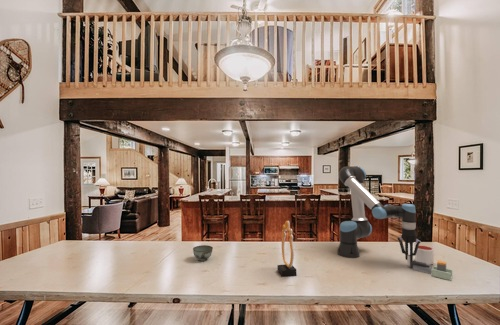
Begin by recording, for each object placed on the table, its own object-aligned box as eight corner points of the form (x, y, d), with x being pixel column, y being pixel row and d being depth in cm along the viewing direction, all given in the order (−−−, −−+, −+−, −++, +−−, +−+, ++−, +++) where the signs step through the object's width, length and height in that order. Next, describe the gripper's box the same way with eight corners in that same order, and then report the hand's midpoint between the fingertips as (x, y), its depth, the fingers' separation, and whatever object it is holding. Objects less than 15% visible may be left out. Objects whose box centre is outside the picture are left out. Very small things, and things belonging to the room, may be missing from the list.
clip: (413, 270, 161) (412, 265, 161) (415, 266, 166) (415, 262, 166) (430, 274, 155) (430, 269, 155) (432, 270, 160) (432, 265, 160)
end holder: (431, 276, 152) (431, 269, 152) (433, 272, 158) (433, 265, 158) (450, 280, 146) (450, 273, 146) (452, 276, 151) (452, 269, 152)
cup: (436, 266, 168) (436, 250, 168) (419, 264, 170) (419, 249, 170) (429, 260, 177) (428, 246, 178) (412, 259, 179) (412, 245, 180)
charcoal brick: (410, 268, 164) (410, 261, 164) (411, 267, 166) (411, 260, 167) (425, 271, 159) (425, 264, 159) (426, 270, 161) (425, 263, 161)
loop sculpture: (275, 268, 163) (275, 218, 164) (288, 267, 165) (288, 217, 166) (284, 280, 147) (284, 224, 147) (299, 278, 149) (299, 223, 149)
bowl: (188, 261, 175) (188, 249, 175) (199, 255, 188) (199, 244, 188) (206, 264, 170) (206, 252, 170) (216, 257, 183) (216, 246, 183)
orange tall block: (437, 275, 152) (437, 262, 152) (438, 273, 155) (437, 260, 155) (445, 277, 149) (445, 263, 149) (446, 275, 152) (446, 261, 152)
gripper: (395, 227, 168) (396, 264, 167) (419, 231, 159) (420, 269, 158) (398, 225, 173) (399, 261, 173) (421, 229, 164) (422, 266, 164)
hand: (409, 265), depth 166 cm, fingers closed
